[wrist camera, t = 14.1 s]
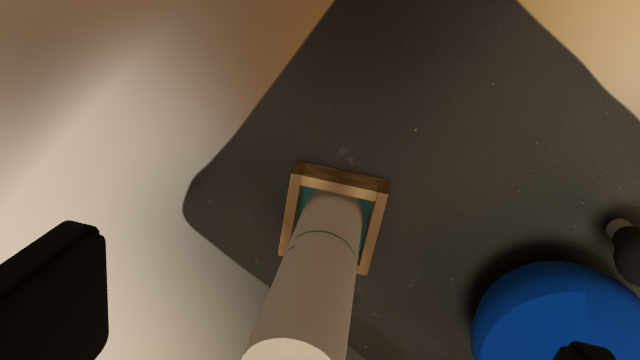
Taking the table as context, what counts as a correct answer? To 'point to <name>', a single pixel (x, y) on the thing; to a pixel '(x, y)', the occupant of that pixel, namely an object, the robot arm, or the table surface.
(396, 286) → the table surface
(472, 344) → the vase
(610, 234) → the light bulb
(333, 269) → the cylindrical container
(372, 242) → the square wooden tray
